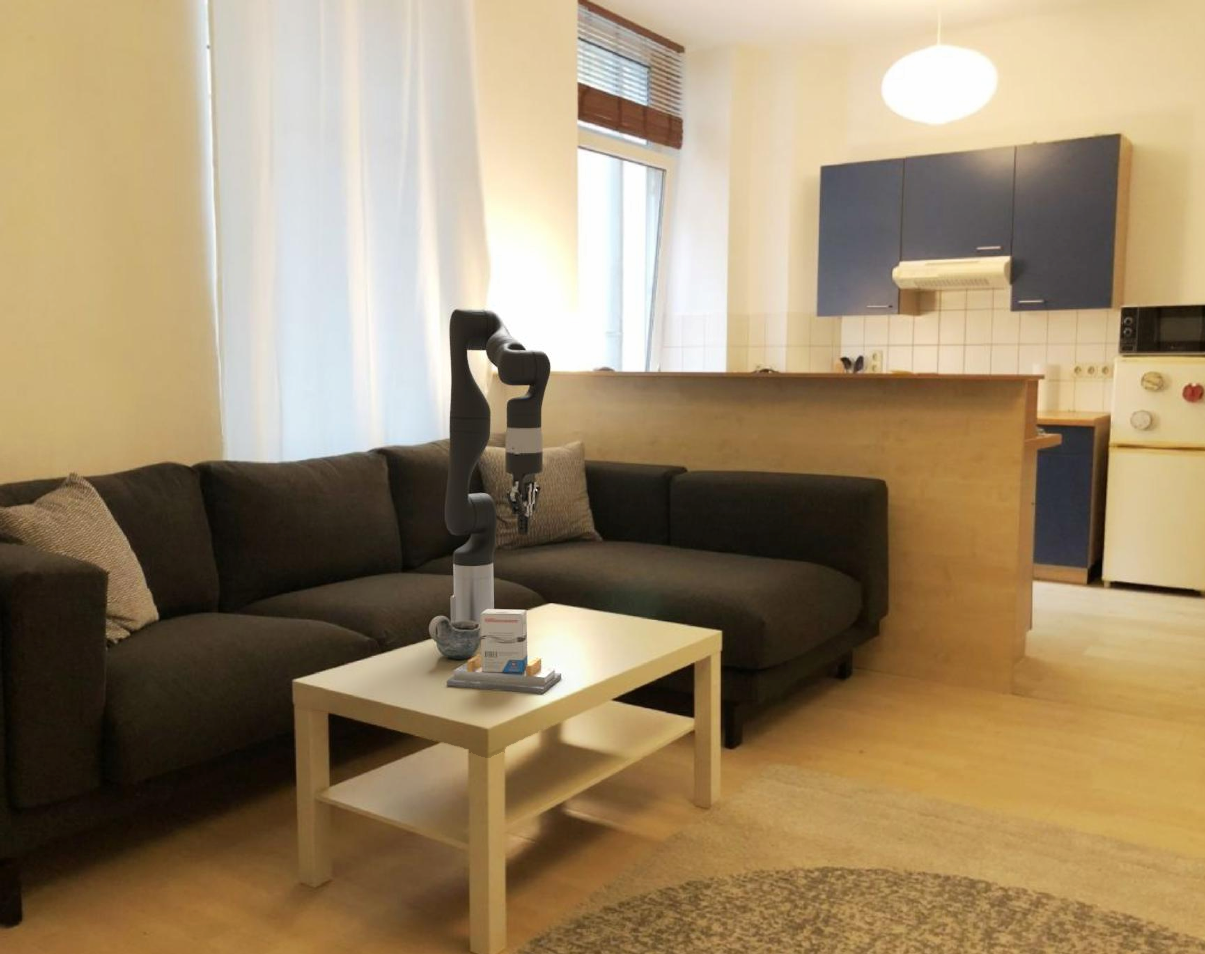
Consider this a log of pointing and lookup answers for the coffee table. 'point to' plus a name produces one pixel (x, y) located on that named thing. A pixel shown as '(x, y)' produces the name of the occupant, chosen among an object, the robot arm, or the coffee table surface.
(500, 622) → the ink box
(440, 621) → the mug
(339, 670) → the coffee table surface
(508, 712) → the coffee table surface
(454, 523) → the robot arm
